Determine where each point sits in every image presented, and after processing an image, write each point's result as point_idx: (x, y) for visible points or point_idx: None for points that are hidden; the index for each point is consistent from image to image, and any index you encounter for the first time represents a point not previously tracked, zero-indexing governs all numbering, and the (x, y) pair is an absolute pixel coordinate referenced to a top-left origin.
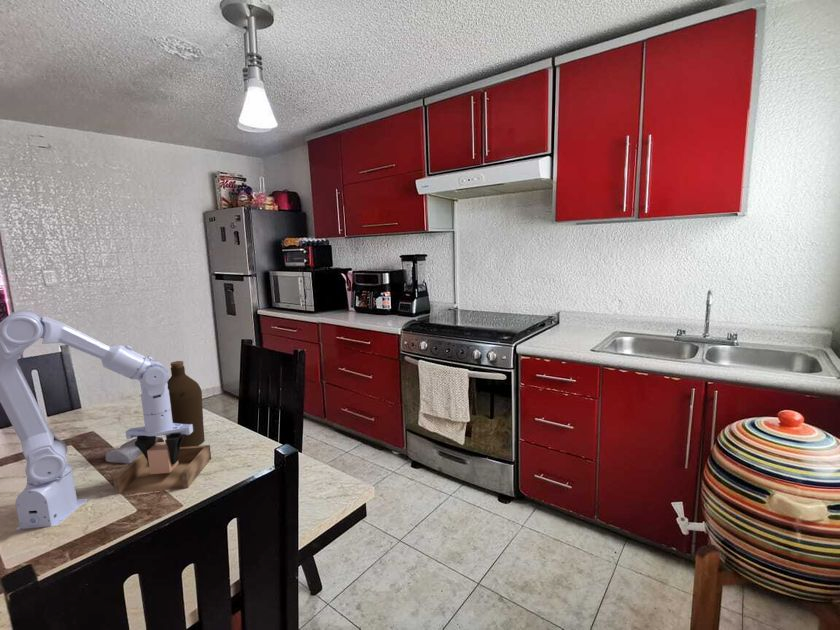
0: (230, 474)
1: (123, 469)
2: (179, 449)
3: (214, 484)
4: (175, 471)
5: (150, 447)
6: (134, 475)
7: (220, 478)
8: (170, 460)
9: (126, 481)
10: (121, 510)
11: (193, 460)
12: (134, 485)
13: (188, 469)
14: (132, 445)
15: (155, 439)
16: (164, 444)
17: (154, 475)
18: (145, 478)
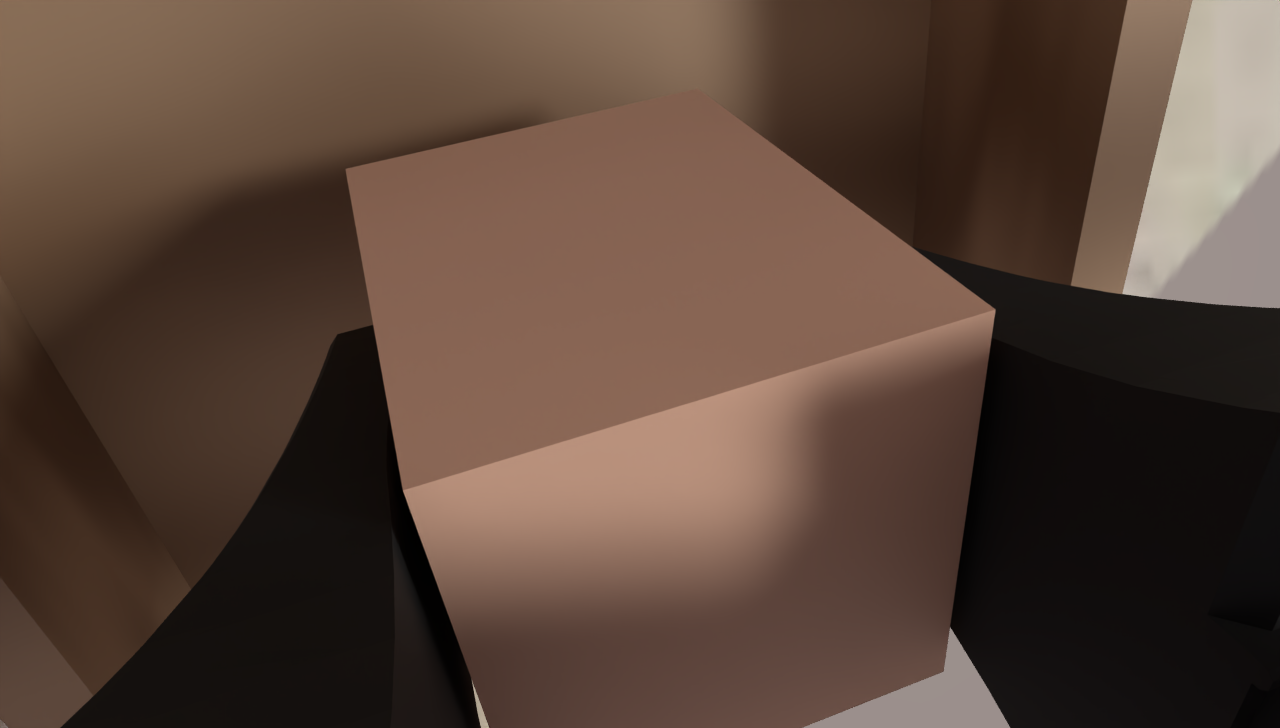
0: (1275, 50)
1: (9, 711)
2: (954, 265)
3: (1135, 261)
4: (595, 80)
5: (463, 725)
6: (41, 404)
7: (1180, 145)
8: None
9: (141, 581)
10: (482, 724)
11: (1090, 255)
12: (245, 490)
13: None
14: None
15: (399, 611)
16: (759, 527)
17: (317, 231)
18: (239, 326)
